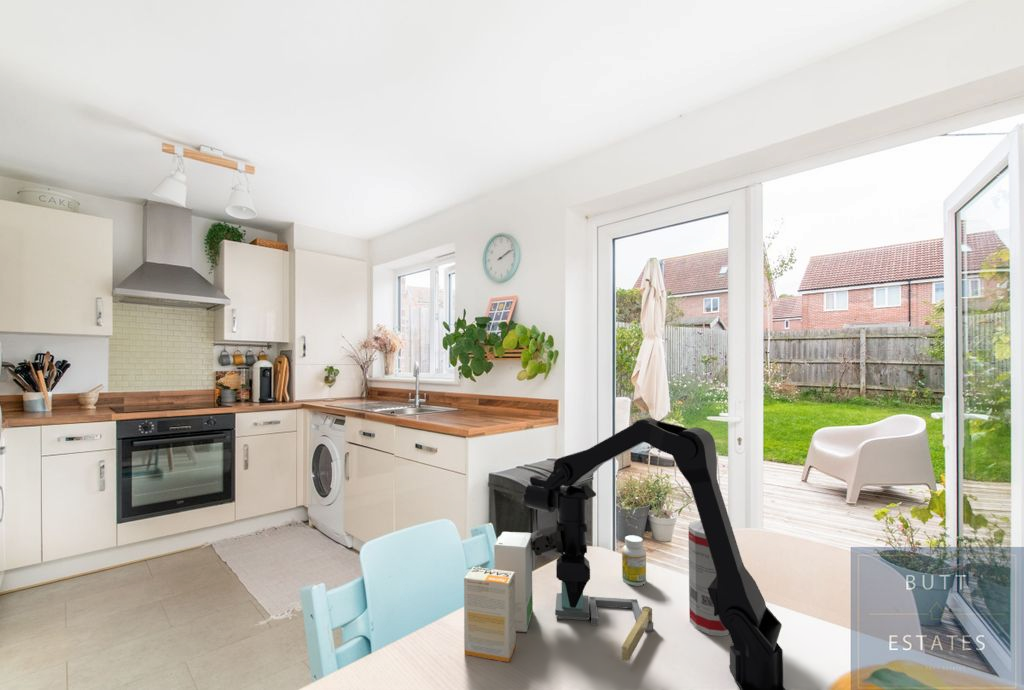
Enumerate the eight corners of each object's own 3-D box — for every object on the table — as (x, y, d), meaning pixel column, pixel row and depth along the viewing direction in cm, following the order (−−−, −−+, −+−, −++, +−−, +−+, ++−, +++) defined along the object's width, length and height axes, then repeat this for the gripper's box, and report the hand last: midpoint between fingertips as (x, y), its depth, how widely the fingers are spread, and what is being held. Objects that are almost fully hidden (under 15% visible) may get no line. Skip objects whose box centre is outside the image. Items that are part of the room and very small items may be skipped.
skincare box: (526, 634, 83) (526, 548, 84) (491, 629, 84) (492, 545, 85) (533, 609, 91) (533, 531, 92) (501, 606, 92) (502, 529, 93)
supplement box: (516, 646, 79) (516, 570, 80) (508, 663, 75) (509, 583, 75) (472, 638, 81) (473, 565, 82) (462, 655, 77) (463, 577, 77)
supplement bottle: (645, 588, 100) (645, 544, 101) (620, 584, 102) (620, 541, 102) (646, 577, 105) (646, 535, 106) (623, 573, 107) (623, 532, 107)
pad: (586, 603, 93) (586, 600, 93) (588, 619, 87) (588, 616, 88) (557, 601, 94) (557, 599, 94) (557, 617, 88) (557, 614, 88)
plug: (588, 600, 94) (588, 571, 94) (589, 618, 87) (589, 586, 87) (556, 598, 95) (556, 568, 95) (555, 615, 88) (555, 584, 88)
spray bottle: (712, 640, 81) (710, 500, 82) (681, 618, 88) (679, 490, 89) (742, 629, 85) (739, 495, 86) (709, 609, 91) (707, 485, 92)
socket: (645, 605, 93) (645, 600, 93) (654, 632, 84) (654, 625, 84) (589, 602, 94) (589, 596, 94) (591, 628, 85) (591, 621, 85)
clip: (643, 617, 86) (643, 605, 86) (653, 620, 85) (653, 608, 85) (619, 658, 74) (619, 645, 74) (630, 662, 73) (630, 648, 73)
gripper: (535, 501, 102) (535, 571, 101) (529, 532, 83) (529, 618, 83) (585, 503, 101) (585, 574, 100) (590, 534, 82) (590, 622, 81)
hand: (572, 595), depth 91 cm, fingers open, 9 cm apart
